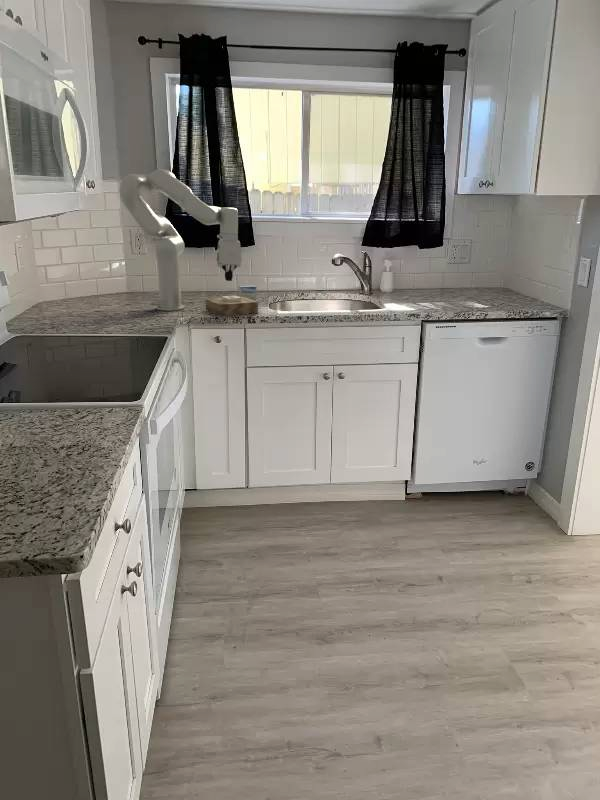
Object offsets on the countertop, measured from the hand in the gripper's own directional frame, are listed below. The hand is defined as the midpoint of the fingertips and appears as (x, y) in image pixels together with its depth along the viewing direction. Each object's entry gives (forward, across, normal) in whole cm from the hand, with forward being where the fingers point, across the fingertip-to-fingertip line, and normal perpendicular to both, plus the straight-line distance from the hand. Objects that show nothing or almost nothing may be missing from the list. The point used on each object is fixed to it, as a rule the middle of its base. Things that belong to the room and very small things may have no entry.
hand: (228, 280), depth 270 cm
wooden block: (+14, +1, -2) cm, 14 cm away
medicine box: (+14, +16, +13) cm, 25 cm away
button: (+13, +1, -2) cm, 13 cm away
